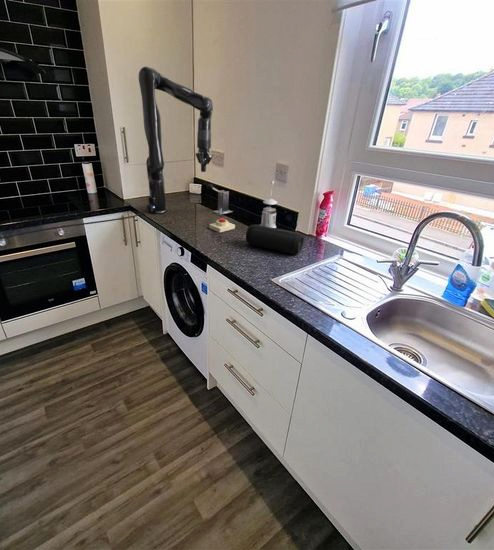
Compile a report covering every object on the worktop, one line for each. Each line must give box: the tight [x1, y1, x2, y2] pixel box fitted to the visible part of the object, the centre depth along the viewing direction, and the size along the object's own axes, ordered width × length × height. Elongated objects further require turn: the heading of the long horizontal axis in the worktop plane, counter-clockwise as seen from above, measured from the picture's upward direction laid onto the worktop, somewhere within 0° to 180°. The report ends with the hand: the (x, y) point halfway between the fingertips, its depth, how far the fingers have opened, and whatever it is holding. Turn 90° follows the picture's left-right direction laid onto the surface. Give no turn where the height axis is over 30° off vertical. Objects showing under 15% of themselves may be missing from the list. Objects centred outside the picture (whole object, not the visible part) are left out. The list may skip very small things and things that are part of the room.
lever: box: [207, 183, 223, 196], centre depth 184 cm, size 15×3×3 cm, turn 132°
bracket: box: [212, 189, 234, 215], centre depth 190 cm, size 10×8×14 cm
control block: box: [208, 219, 236, 233], centre depth 168 cm, size 11×9×4 cm
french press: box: [259, 180, 278, 228], centre depth 168 cm, size 10×12×25 cm
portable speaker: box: [245, 224, 305, 255], centre depth 143 cm, size 26×10×10 cm, turn 61°
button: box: [218, 217, 227, 223], centre depth 167 cm, size 4×4×2 cm
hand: (203, 171), depth 175 cm, fingers closed
